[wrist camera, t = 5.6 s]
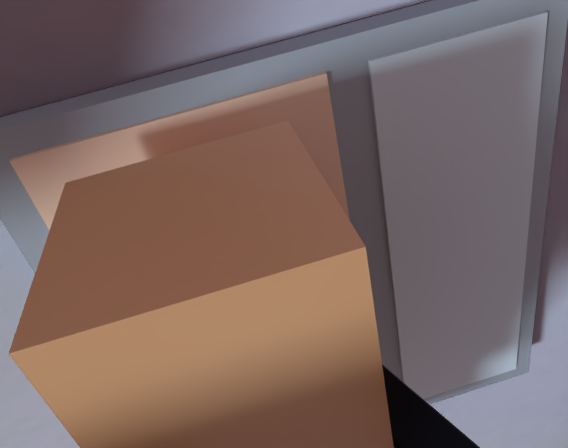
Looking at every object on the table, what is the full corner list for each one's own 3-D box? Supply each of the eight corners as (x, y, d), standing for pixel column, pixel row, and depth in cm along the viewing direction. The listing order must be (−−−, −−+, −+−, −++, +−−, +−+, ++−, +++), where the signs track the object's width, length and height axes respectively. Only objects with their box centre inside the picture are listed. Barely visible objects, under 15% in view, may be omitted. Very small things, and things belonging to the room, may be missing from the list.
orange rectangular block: (288, 120, 8) (365, 246, 5) (360, 465, 14) (417, 620, 11) (65, 182, 8) (8, 353, 5) (233, 507, 13) (255, 677, 11)
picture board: (544, -30, 10) (577, -25, 9) (512, 352, 16) (530, 374, 15) (-33, 125, 9) (-50, 145, 8) (170, 463, 15) (171, 491, 14)
